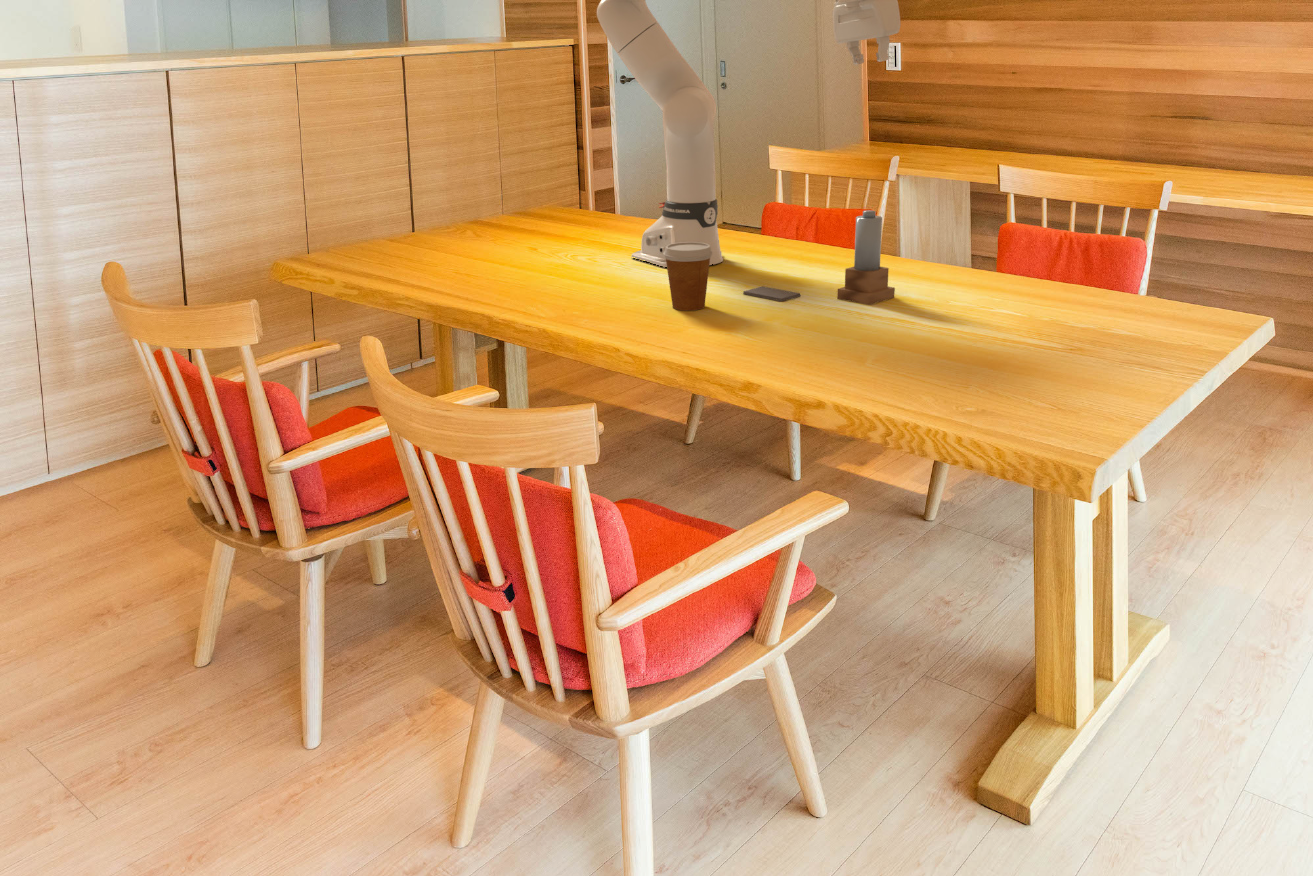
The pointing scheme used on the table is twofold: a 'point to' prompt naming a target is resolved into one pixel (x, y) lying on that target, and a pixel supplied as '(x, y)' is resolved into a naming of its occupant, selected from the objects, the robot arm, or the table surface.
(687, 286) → the disposable coffee cup
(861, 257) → the gray bottle
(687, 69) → the robot arm
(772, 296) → the mat
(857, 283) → the brown stepped pedestal
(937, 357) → the table surface
